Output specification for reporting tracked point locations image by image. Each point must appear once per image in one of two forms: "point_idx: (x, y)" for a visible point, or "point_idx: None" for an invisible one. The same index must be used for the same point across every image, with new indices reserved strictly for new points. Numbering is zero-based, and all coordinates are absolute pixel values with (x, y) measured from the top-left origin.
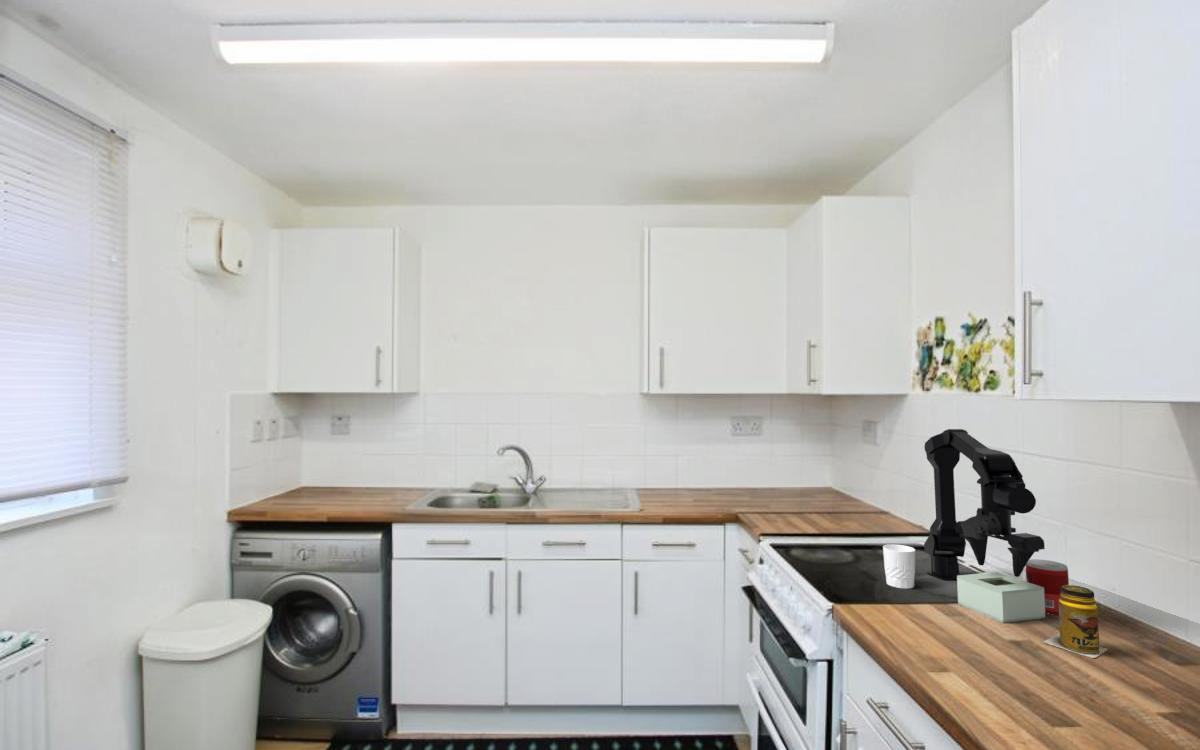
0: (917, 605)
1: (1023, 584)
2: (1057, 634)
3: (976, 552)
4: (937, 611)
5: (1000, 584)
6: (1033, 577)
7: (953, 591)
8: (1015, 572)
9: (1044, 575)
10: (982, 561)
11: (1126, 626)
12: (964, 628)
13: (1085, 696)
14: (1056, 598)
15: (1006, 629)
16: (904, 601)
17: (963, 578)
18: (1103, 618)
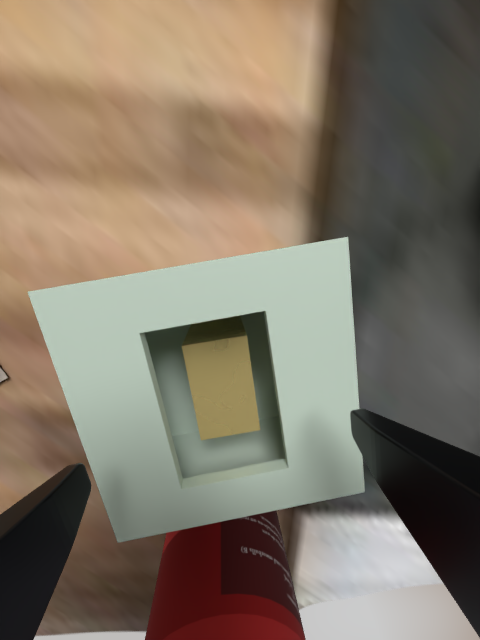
0: (305, 49)
1: (163, 486)
2: (3, 376)
3: (435, 462)
4: (231, 95)
5: (258, 422)
6: (211, 578)
7: (417, 325)
8: (44, 487)
9: (163, 630)
10: (364, 446)
11: (98, 589)
12: (42, 70)
13: None
14: (165, 541)
15: (47, 244)
16: (358, 19)
17: (298, 245)
18: (154, 578)
